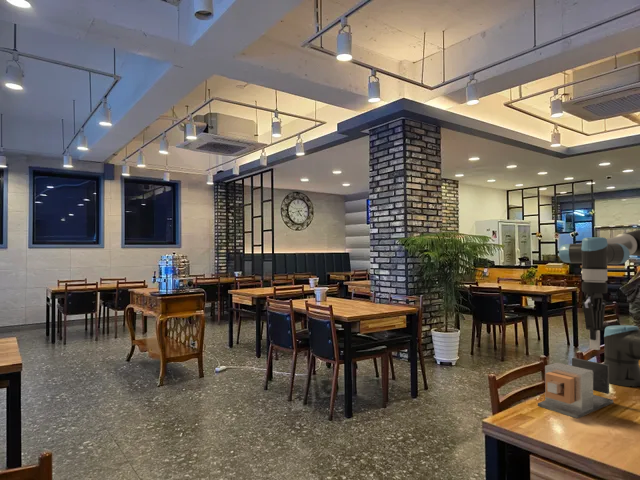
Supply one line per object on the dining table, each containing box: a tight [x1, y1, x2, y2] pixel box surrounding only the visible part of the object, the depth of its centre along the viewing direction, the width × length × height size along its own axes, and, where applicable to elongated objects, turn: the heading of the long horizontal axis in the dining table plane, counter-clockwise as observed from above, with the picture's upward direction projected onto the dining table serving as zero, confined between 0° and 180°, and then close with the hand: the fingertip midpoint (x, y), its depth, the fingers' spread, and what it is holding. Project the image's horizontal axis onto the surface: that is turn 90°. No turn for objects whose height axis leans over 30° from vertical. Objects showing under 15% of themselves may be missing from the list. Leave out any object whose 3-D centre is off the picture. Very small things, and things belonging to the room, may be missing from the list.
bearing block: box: [537, 362, 614, 419], centre depth 149 cm, size 26×13×13 cm, turn 124°
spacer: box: [546, 372, 575, 404], centre depth 143 cm, size 3×8×8 cm, turn 34°
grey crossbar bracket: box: [547, 357, 610, 395], centre depth 148 cm, size 27×12×10 cm, turn 124°
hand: (594, 348), depth 148 cm, fingers closed
